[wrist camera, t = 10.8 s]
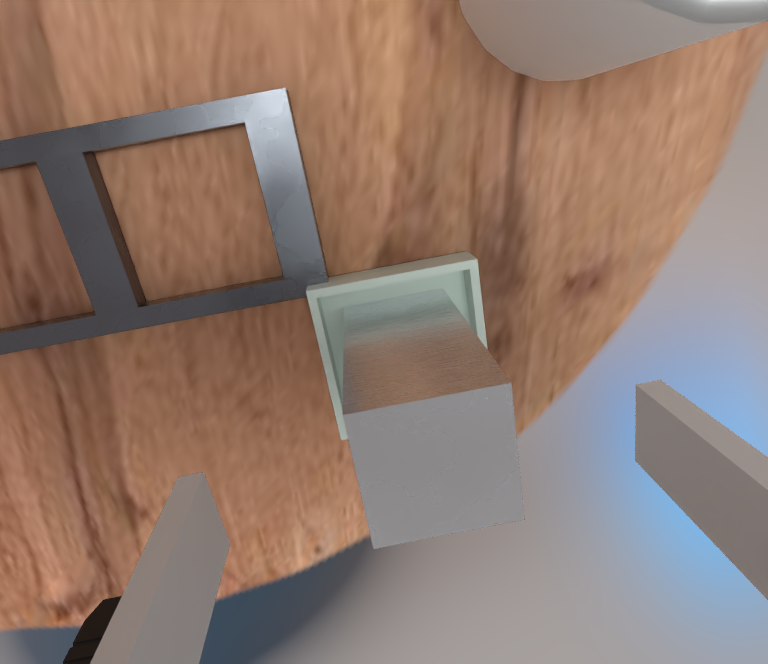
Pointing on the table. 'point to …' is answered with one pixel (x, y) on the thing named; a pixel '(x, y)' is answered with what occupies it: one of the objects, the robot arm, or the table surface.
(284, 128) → the double window frame
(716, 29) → the mug
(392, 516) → the grey rectangular block
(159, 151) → the table surface
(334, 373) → the tray
